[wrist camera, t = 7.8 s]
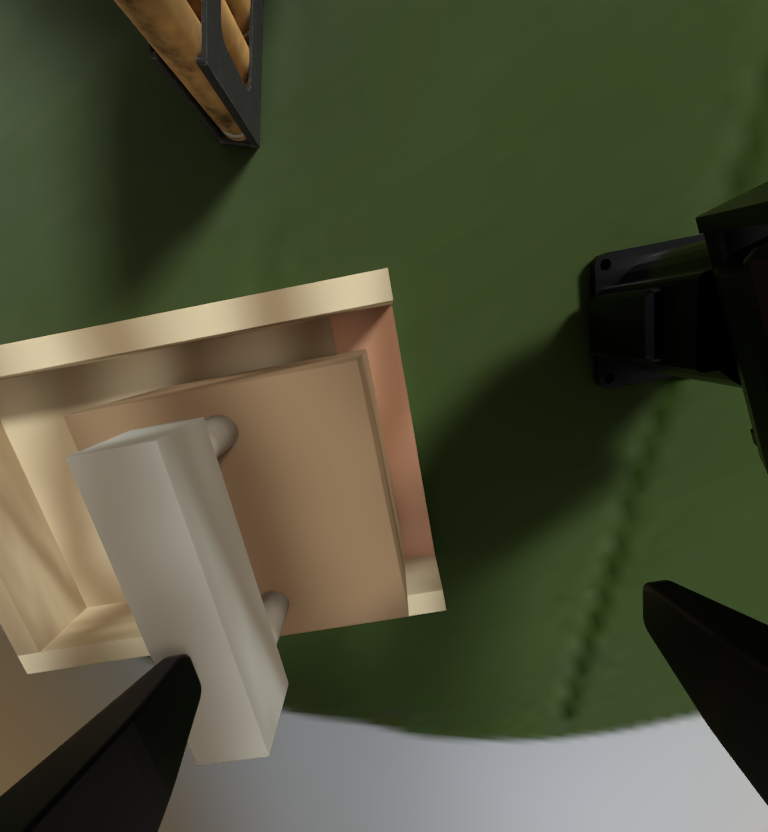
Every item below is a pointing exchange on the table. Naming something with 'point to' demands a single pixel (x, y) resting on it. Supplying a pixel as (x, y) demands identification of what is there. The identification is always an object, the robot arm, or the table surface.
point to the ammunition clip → (208, 59)
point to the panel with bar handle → (245, 526)
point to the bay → (143, 372)
